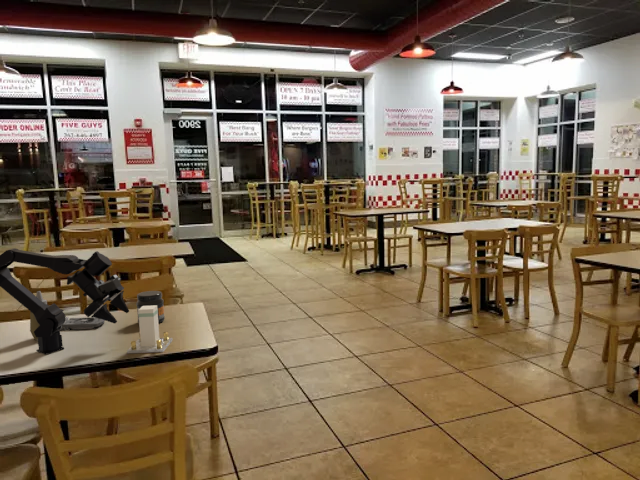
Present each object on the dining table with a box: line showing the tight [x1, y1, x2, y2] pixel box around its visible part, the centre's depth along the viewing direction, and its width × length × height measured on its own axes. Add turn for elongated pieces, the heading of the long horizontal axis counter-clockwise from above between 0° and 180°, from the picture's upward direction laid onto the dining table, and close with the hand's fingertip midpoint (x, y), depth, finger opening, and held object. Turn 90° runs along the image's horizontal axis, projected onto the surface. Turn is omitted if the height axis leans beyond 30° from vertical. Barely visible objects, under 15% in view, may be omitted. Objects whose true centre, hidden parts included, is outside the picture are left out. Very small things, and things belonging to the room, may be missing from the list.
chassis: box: [126, 331, 173, 354], centre depth 175 cm, size 12×12×4 cm
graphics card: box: [58, 316, 106, 332], centre depth 200 cm, size 17×4×12 cm
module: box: [137, 305, 161, 346], centre depth 174 cm, size 5×5×13 cm
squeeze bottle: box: [29, 290, 48, 341], centre depth 186 cm, size 8×8×18 cm
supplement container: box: [136, 290, 166, 324], centre depth 204 cm, size 10×10×12 cm
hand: (122, 317), depth 174 cm, fingers open, 9 cm apart
